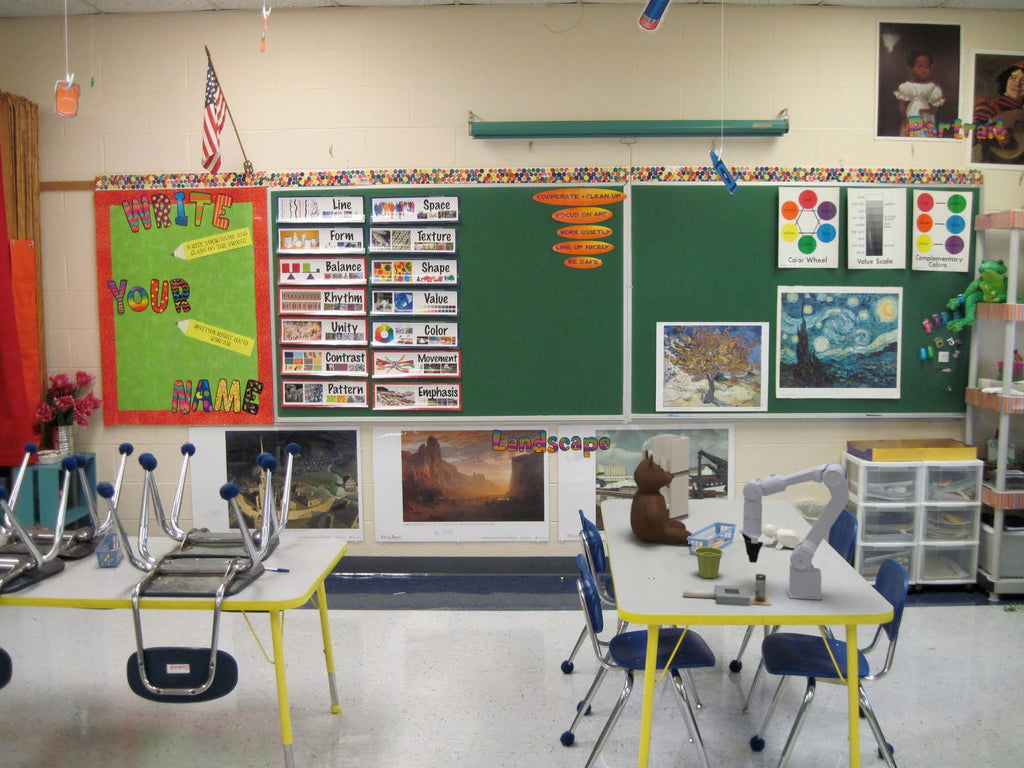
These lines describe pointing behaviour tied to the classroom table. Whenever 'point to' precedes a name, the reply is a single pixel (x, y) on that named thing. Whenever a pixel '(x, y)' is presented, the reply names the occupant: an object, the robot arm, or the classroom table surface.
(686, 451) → the white banded box
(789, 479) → the robot arm
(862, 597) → the classroom table surface
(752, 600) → the pad
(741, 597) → the block
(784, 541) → the white animal figurine
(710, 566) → the plant pot
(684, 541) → the stuffed bear
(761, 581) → the shiny metal cylinder
